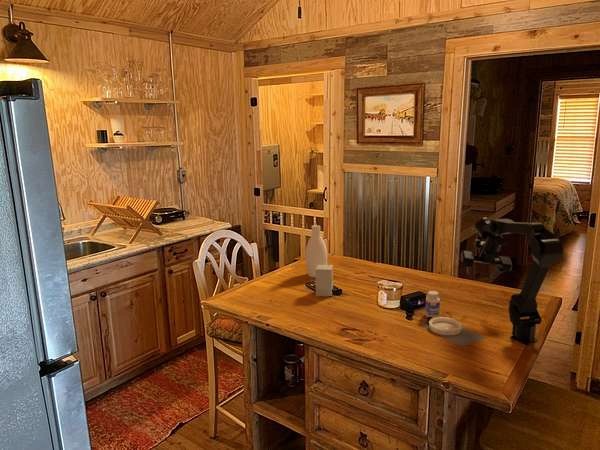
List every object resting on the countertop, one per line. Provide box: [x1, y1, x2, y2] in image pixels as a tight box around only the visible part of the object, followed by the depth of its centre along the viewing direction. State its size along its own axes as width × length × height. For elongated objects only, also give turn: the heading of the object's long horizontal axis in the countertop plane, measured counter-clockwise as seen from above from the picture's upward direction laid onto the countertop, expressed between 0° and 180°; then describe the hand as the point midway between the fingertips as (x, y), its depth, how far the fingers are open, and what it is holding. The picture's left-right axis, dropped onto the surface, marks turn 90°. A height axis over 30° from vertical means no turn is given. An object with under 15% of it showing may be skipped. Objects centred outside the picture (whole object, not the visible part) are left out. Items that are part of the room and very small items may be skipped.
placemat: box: [419, 322, 486, 347], centre depth 170 cm, size 20×12×1 cm, turn 31°
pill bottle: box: [424, 290, 441, 319], centre depth 183 cm, size 5×5×10 cm
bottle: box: [304, 224, 328, 279], centre depth 233 cm, size 11×11×25 cm
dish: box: [428, 316, 463, 335], centre depth 172 cm, size 12×12×2 cm
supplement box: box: [315, 264, 334, 297], centre depth 209 cm, size 7×7×13 cm
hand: (479, 276), depth 188 cm, fingers open, 9 cm apart
